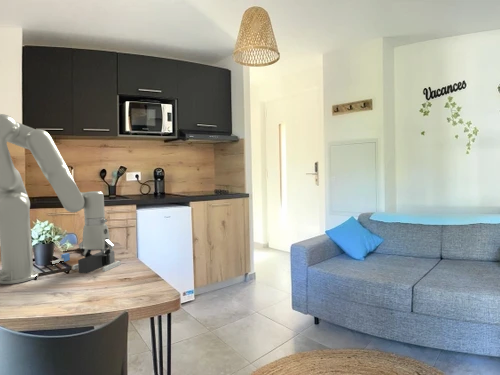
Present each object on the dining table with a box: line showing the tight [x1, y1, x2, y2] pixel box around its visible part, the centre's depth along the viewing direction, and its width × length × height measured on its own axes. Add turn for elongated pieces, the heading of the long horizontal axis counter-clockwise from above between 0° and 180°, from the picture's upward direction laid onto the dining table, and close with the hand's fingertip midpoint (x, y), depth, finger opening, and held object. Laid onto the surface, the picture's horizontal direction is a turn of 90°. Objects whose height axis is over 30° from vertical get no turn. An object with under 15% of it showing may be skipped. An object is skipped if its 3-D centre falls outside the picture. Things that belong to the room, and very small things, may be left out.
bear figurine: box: [62, 247, 85, 257], centre depth 168 cm, size 18×4×14 cm
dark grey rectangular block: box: [77, 250, 116, 274], centre depth 141 cm, size 16×5×5 cm, turn 165°
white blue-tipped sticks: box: [51, 252, 122, 272], centre depth 144 cm, size 12×29×3 cm, turn 75°
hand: (97, 264), depth 141 cm, fingers open, 7 cm apart
